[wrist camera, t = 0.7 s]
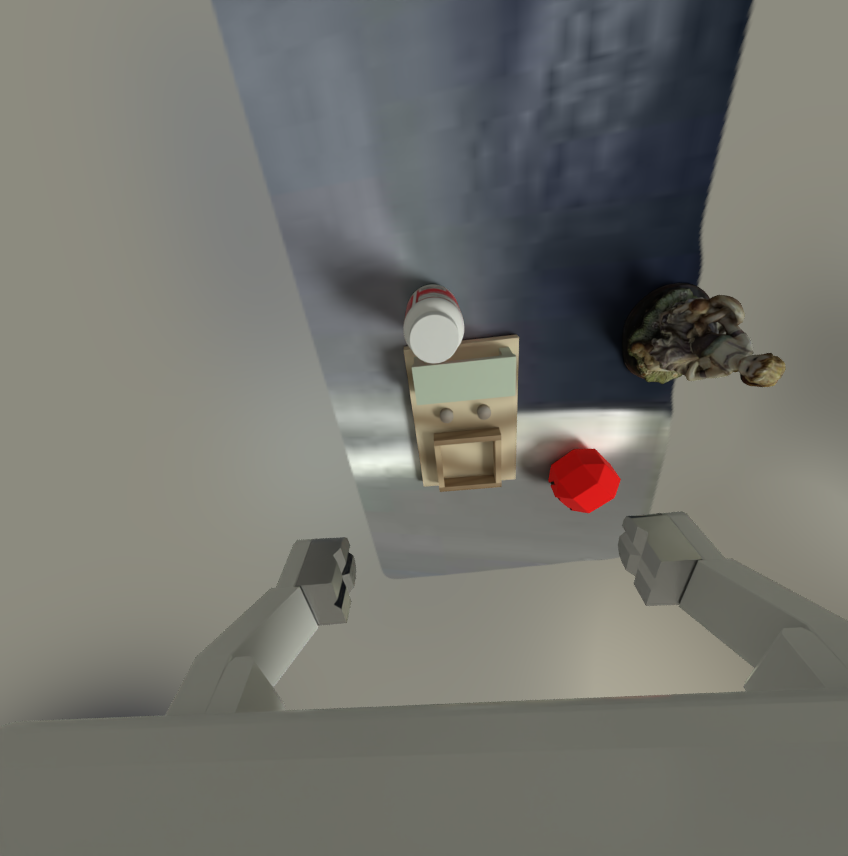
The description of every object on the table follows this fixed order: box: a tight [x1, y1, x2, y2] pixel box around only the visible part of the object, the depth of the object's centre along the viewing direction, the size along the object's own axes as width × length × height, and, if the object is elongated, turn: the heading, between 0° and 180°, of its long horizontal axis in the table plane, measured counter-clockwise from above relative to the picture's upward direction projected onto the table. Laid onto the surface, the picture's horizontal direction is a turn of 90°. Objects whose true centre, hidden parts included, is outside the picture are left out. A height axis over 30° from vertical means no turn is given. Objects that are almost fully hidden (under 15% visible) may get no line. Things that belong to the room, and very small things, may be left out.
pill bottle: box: [403, 285, 464, 363], centre depth 38 cm, size 6×6×11 cm
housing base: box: [404, 335, 519, 492], centre depth 49 cm, size 22×14×3 cm, turn 7°
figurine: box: [622, 283, 785, 387], centre depth 38 cm, size 12×11×15 cm
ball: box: [548, 449, 621, 513], centre depth 51 cm, size 8×8×8 cm
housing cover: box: [412, 347, 516, 405], centre depth 44 cm, size 5×12×3 cm, turn 97°
